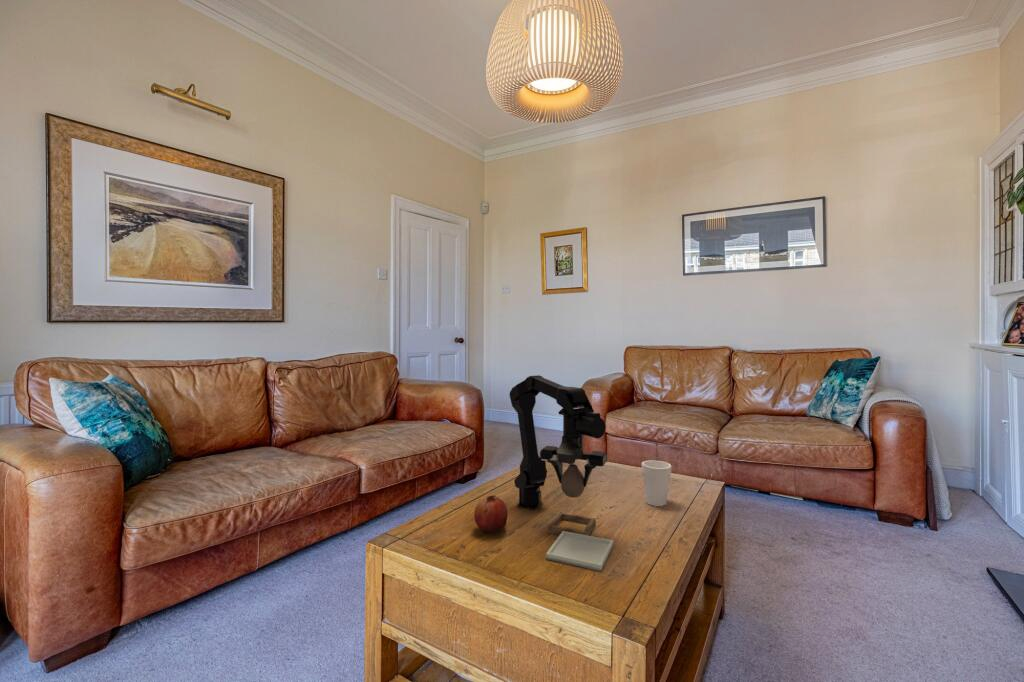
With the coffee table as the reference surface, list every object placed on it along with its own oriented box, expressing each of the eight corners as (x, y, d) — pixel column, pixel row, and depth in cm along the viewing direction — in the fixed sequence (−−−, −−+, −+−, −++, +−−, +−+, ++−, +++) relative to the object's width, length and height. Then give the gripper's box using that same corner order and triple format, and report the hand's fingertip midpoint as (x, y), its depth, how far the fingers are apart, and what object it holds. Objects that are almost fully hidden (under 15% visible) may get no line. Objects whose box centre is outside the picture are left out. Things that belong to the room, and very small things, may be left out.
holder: (548, 532, 129) (548, 526, 129) (560, 517, 139) (560, 511, 139) (586, 539, 124) (586, 533, 124) (595, 524, 134) (595, 518, 134)
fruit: (501, 541, 124) (501, 505, 123) (468, 535, 127) (468, 500, 126) (513, 525, 134) (513, 491, 133) (482, 520, 137) (482, 488, 137)
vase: (584, 500, 127) (584, 469, 127) (559, 498, 129) (560, 468, 128) (585, 491, 134) (585, 462, 134) (562, 490, 135) (562, 461, 135)
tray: (546, 559, 114) (546, 553, 114) (563, 536, 127) (563, 530, 126) (601, 571, 108) (601, 565, 108) (613, 545, 121) (613, 540, 121)
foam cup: (639, 505, 148) (640, 466, 148) (642, 496, 157) (643, 459, 157) (670, 510, 145) (670, 470, 144) (671, 500, 153) (672, 462, 153)
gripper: (533, 434, 127) (532, 489, 128) (598, 441, 120) (598, 499, 120) (546, 426, 138) (546, 477, 138) (607, 432, 130) (607, 486, 130)
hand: (572, 484), depth 131 cm, fingers closed on vase, 7 cm apart
